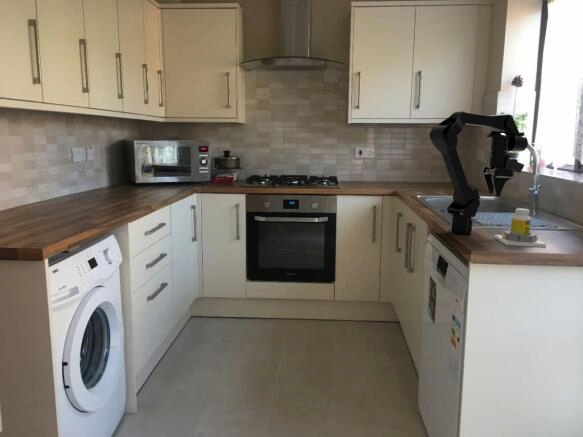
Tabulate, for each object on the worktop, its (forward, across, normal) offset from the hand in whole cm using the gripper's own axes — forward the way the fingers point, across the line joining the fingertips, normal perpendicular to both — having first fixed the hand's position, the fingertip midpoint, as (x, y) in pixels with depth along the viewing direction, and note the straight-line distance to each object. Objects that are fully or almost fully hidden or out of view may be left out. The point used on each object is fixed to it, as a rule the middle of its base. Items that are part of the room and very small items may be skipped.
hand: (494, 195), depth 167 cm
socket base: (+13, -18, -4) cm, 23 cm away
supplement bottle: (+12, -18, -4) cm, 22 cm away
